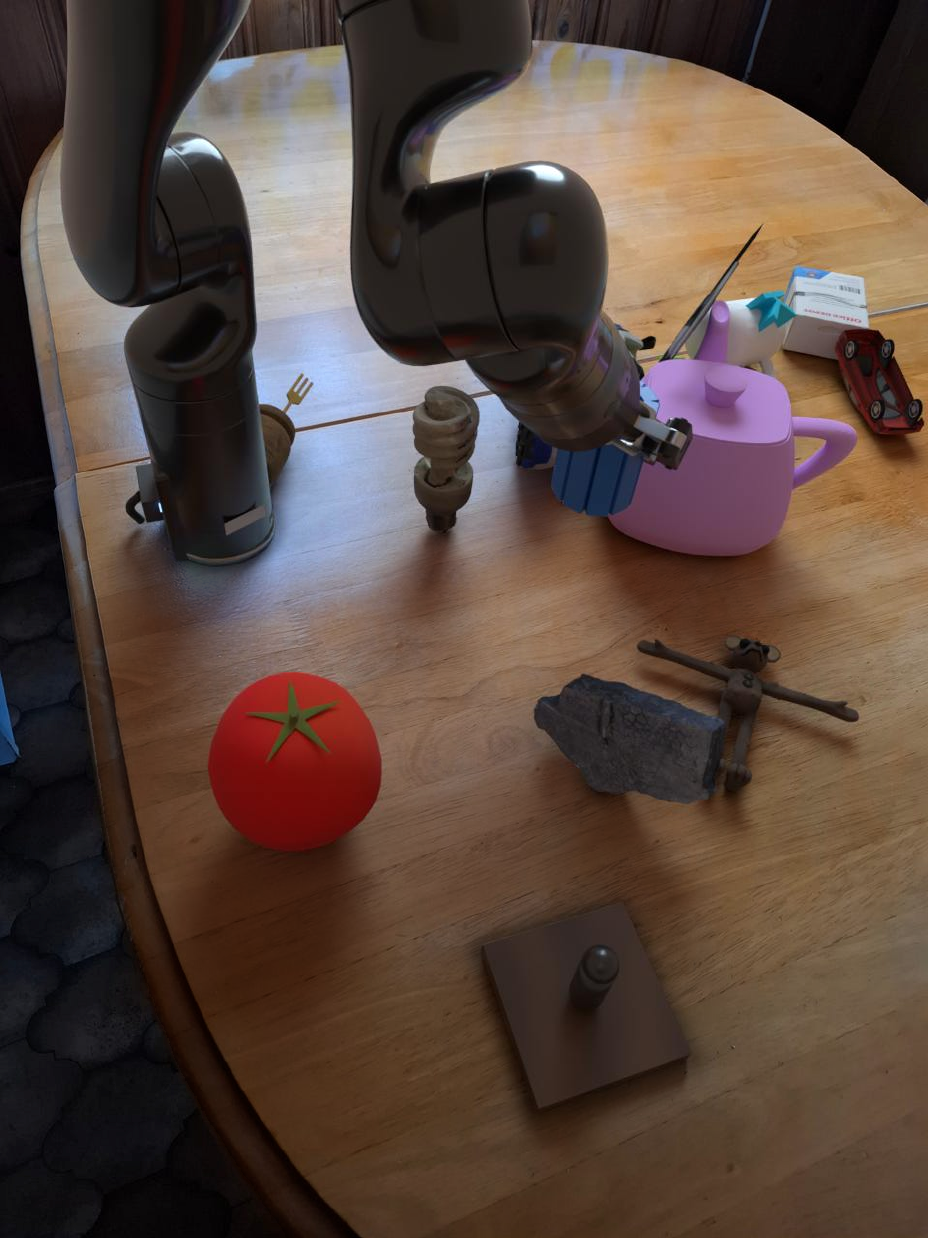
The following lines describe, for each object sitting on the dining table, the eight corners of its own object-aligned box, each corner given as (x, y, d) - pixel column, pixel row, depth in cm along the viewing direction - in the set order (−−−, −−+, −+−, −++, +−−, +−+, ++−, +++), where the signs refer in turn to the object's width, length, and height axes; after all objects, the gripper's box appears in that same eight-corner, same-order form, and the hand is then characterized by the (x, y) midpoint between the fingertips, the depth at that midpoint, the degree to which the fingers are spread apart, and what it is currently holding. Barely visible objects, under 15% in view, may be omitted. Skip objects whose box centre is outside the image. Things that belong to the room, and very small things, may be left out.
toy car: (838, 320, 101) (819, 353, 105) (889, 423, 94) (867, 454, 98) (883, 317, 102) (863, 350, 106) (938, 419, 95) (913, 450, 99)
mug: (730, 277, 92) (781, 272, 100) (662, 330, 98) (715, 321, 106) (785, 379, 91) (832, 366, 99) (713, 425, 98) (763, 409, 106)
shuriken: (589, 477, 89) (715, 308, 73) (580, 471, 89) (704, 300, 73) (659, 372, 105) (775, 213, 89) (652, 366, 105) (766, 207, 89)
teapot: (817, 593, 82) (887, 463, 70) (585, 551, 83) (617, 417, 72) (803, 438, 97) (859, 310, 85) (606, 404, 98) (635, 274, 87)
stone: (512, 771, 68) (529, 693, 61) (537, 710, 72) (555, 629, 64) (694, 837, 66) (735, 764, 58) (709, 770, 69) (750, 693, 62)
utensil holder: (251, 505, 86) (296, 429, 94) (287, 475, 82) (331, 398, 90) (200, 465, 84) (250, 390, 92) (234, 432, 80) (284, 356, 88)
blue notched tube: (570, 523, 68) (591, 433, 62) (539, 467, 72) (555, 376, 66) (647, 509, 70) (675, 420, 64) (612, 455, 74) (635, 366, 68)
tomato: (195, 792, 65) (162, 687, 55) (327, 722, 70) (317, 613, 60) (273, 919, 60) (251, 826, 50) (409, 833, 64) (414, 733, 55)
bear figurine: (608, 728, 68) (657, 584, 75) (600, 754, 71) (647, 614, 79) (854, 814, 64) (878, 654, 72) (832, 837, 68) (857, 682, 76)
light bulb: (462, 556, 82) (474, 422, 71) (403, 545, 83) (405, 410, 71) (473, 515, 86) (487, 381, 74) (417, 504, 86) (422, 369, 75)
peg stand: (535, 1114, 53) (555, 1078, 47) (480, 951, 59) (491, 900, 53) (687, 1059, 56) (724, 1019, 50) (619, 908, 62) (645, 855, 56)
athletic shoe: (514, 411, 80) (648, 441, 79) (556, 280, 98) (666, 304, 97) (498, 498, 87) (622, 526, 86) (540, 361, 105) (643, 383, 104)
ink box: (781, 300, 115) (780, 350, 108) (795, 263, 111) (795, 313, 104) (849, 313, 114) (853, 365, 107) (865, 277, 111) (870, 328, 103)
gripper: (709, 358, 50) (723, 423, 66) (487, 272, 55) (551, 352, 70) (648, 482, 51) (676, 517, 67) (435, 388, 56) (509, 441, 71)
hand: (612, 432), depth 69 cm, fingers closed on blue notched tube, 6 cm apart
